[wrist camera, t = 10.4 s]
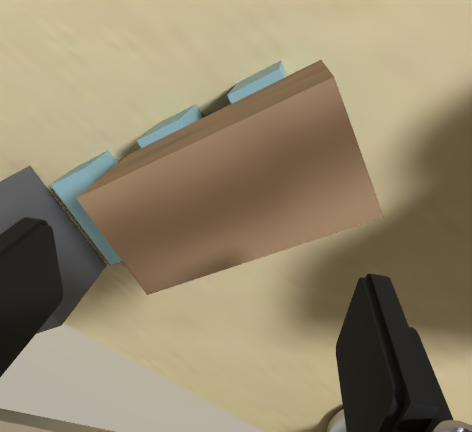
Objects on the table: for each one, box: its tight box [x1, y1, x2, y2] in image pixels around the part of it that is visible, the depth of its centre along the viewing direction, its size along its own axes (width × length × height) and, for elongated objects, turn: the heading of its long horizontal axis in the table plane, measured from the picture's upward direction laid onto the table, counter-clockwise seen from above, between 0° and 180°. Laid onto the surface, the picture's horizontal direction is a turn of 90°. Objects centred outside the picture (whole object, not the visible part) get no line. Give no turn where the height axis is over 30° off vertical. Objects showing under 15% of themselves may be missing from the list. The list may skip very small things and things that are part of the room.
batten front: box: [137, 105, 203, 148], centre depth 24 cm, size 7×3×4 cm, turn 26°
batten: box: [50, 151, 122, 265], centre depth 26 cm, size 7×3×4 cm, turn 27°
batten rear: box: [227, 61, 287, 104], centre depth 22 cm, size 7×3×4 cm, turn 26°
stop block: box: [0, 166, 106, 333], centre depth 27 cm, size 10×3×7 cm, turn 27°
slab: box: [76, 60, 383, 295], centre depth 18 cm, size 6×12×6 cm, turn 117°
